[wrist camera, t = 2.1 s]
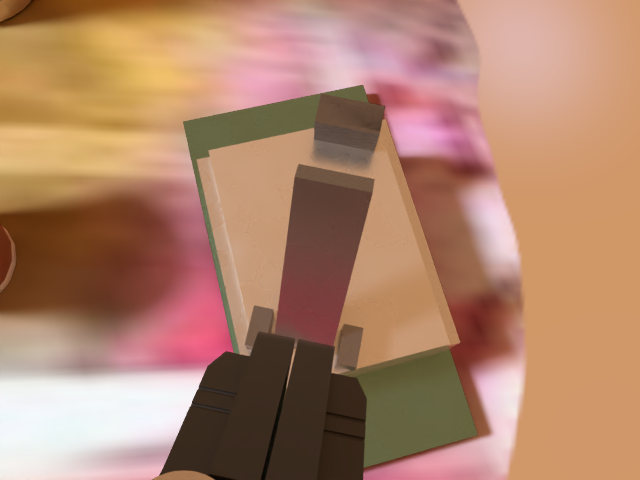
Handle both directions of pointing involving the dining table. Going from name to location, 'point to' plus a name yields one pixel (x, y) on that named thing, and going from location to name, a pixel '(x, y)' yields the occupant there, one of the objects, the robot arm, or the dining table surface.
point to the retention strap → (320, 251)
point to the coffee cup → (6, 257)
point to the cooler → (369, 268)
